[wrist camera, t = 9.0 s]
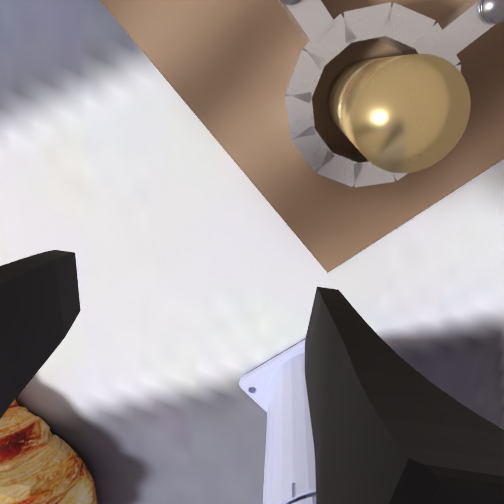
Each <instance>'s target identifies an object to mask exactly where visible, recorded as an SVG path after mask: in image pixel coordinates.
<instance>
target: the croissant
mask: <svg viewBox="0 0 504 504" xmlns="http://www.w3.org/2000/svg"><path fill="white" fill-rule="evenodd" d="M0 504H98V500H97V496H96V492H95V487H94V480H93V478H92V476H91V475H90V473H89V471H88V470H87V468H86V466H85V464H84V463H83V461H82V459H81V458H80V457H79V455H78V454H77V453H76V452H75V451H74V450H73V449H72V448H71V447H70V446H69V445H68V444H67V443H66V442H65V441H64V440H62V439H61V438H60V437H58V436H57V435H54V434H52V433H51V432H50V427H49V426H48V425H47V424H46V423H45V421H44V420H42V419H41V418H40V417H39V416H37V417H36V416H35V415H33V414H32V413H30V412H28V409H27V408H25V407H19V406H18V404H17V402H16V399H15V400H14V401H13V403H12V404H11V405H10V407H9V408H8V409H7V411H6V412H5V413H4V415H3V416H2V418H1V419H0Z"/></svg>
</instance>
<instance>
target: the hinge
mask: <svg viewBox="0 0 504 504" xmlns="http://www.w3.org/2000/svg"><path fill="white" fill-rule="evenodd" d="M278 1H279V3H280V4H281V6H282V7H283V9H284V10H285V12H286V13H287V14H288V16H289V17H290V19H291V20H292V22H293V23H294V25H295V26H296V27H297V29H298V30H299V32H300V33H301V35H302V36H303V38H304V39H305V41H306V42H307V44H306V45H305V46H304V47H303V48H302V50H301V51H300V53H299V56H298V59H297V61H296V64H295V67H294V69H293V72H292V75H291V77H290V80H289V83H288V85H287V88H286V91H285V93H286V94H285V99H286V107H287V115H288V123H289V131H290V138H291V140H292V143H293V144H294V145H295V146H296V148H297V149H298V150H299V152H300V153H301V154H302V156H303V157H304V158H305V159H306V161H307V162H308V163H309V165H310V166H311V167H312V169H313V170H314V171H315V172H316V171H317V174H320V175H322V176H325V177H327V178H330V179H333V180H335V181H338V182H340V183H343V184H345V185H348V186H351V187H353V185H354V187H362V186H369V185H376V184H383V183H390V182H395V180H394V178H395V179H396V180H397V181H398V180H399V179H400V178H402V177H403V176H405V175H406V174H408V173H394V172H389V171H385V170H382V169H380V168H378V167H376V166H375V165H373V164H372V163H371V162H370V161H368V160H367V159H366V158H365V157H364V155H363V154H362V153H361V152H357V153H349V152H346V151H344V150H341V149H339V148H336V147H334V146H331V145H329V144H327V143H326V141H325V140H324V139H323V137H322V136H321V135H320V133H319V132H318V131H317V129H316V128H315V125H314V115H313V105H312V96H313V93H314V91H315V89H316V86H317V84H318V81H319V79H320V76H321V74H322V71H323V69H324V66H325V65H326V64H327V63H329V62H330V61H331V60H332V59H333V58H334V57H335V56H337V55H338V54H339V53H340V52H341V51H342V50H344V49H345V48H346V47H347V46H348V45H349V44H354V43H359V42H364V41H369V40H376V41H378V42H381V43H383V44H385V45H388V46H390V47H392V48H395V49H397V50H399V51H401V53H402V54H403V55H412V54H430V55H435V56H438V57H441V58H443V59H445V60H447V61H449V62H450V63H451V64H453V65H454V66H455V67H456V68H457V69H458V70H459V71H460V72H461V65H457V64H458V63H459V62H460V60H459V59H458V57H457V55H456V54H458V53H459V52H460V51H461V50H463V49H464V48H465V47H467V46H468V45H469V44H470V43H472V42H473V41H474V40H476V39H477V38H478V37H480V36H481V35H482V34H483V33H485V32H486V31H487V30H489V29H490V28H491V27H493V26H494V25H495V24H498V23H503V22H504V0H466V1H465V2H463V3H462V4H461V5H460V6H458V7H457V8H456V9H455V10H454V11H452V12H451V13H450V14H449V15H447V16H446V17H445V18H444V19H442V20H441V21H440V22H439V23H435V21H436V20H433V19H431V18H429V17H426V16H424V15H422V14H420V13H417V12H415V11H413V10H410V9H408V8H406V7H403V6H401V5H399V4H397V3H392V4H391V2H389V3H384V4H379V5H374V6H370V7H365V8H360V9H355V10H350V11H346V12H343V13H342V14H340V15H338V16H337V17H336V18H335V19H334V20H333V18H332V17H331V15H330V14H329V12H328V11H327V9H326V8H325V6H324V4H323V3H322V1H321V0H278ZM434 23H435V24H434Z"/></svg>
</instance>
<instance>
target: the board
mask: <svg viewBox="0 0 504 504" xmlns="http://www.w3.org/2000/svg"><path fill="white" fill-rule="evenodd" d="M100 1H101V2H102V3H103V5H104V6H105V7H106V8H107V9H108V11H109V12H110V13H111V14H112V15H113V17H114V18H115V19H116V20H117V21H118V23H119V24H120V25H121V26H122V27H123V28H124V30H125V31H126V32H127V33H128V34H129V36H130V37H131V38H132V39H133V40H134V42H135V43H136V44H137V45H138V46H139V48H140V49H141V50H142V51H143V52H144V54H145V55H146V56H147V57H148V58H149V60H150V61H151V62H152V63H153V64H154V66H155V67H156V68H157V69H158V70H159V72H160V73H161V74H162V75H163V76H164V78H165V79H166V80H167V81H168V82H169V84H170V85H171V86H172V87H173V88H174V89H175V91H176V92H177V93H178V94H179V95H180V97H181V98H182V99H183V100H184V101H185V103H186V104H187V105H188V106H189V107H190V109H191V110H192V111H193V112H194V113H195V115H196V116H197V117H198V118H199V119H200V121H201V122H202V123H203V124H204V125H205V127H206V128H207V129H208V130H209V131H210V133H211V134H212V135H213V136H214V137H215V139H216V140H217V141H218V142H219V143H220V145H221V146H222V147H223V148H224V149H225V151H226V152H227V153H228V154H229V155H230V156H231V158H232V159H233V160H234V161H235V162H236V164H237V165H238V166H239V167H240V168H241V170H242V171H243V172H244V173H245V174H246V176H247V177H248V178H249V179H250V180H251V182H252V183H253V184H254V185H255V186H256V188H257V189H258V190H259V191H260V192H261V194H262V195H263V196H264V197H265V198H266V200H267V201H268V202H269V203H270V204H271V206H272V207H273V208H274V209H275V210H276V212H277V213H278V214H279V215H280V216H281V217H282V219H283V220H284V221H285V222H286V223H287V225H288V226H289V227H290V228H291V229H292V231H293V232H294V233H295V234H296V235H297V237H298V238H299V239H300V240H301V241H302V243H303V244H304V245H305V246H306V247H307V249H308V250H309V251H310V252H311V253H312V255H313V256H314V257H315V258H316V259H317V261H318V262H319V263H320V264H321V265H322V267H323V268H324V269H325V270H326V271H327V273H328V272H329V271H331V270H333V269H334V268H336V267H337V266H339V265H340V264H342V263H343V262H345V261H346V260H348V259H350V258H351V257H353V256H354V255H356V254H357V253H359V252H360V251H362V250H363V249H365V248H367V247H368V246H370V245H371V244H373V243H374V242H376V241H377V240H379V239H380V238H382V237H384V236H385V235H387V234H388V233H390V232H391V231H393V230H394V229H396V228H397V227H399V226H401V225H402V224H404V223H405V222H407V221H408V220H410V219H411V218H413V217H414V216H416V215H418V214H419V213H421V212H422V211H424V210H425V209H427V208H428V207H430V206H431V205H433V204H435V203H436V202H438V201H439V200H441V199H442V198H444V197H445V196H447V195H448V194H450V193H452V192H453V191H455V190H456V189H458V188H459V187H461V186H462V185H464V184H465V183H467V182H469V181H470V180H472V179H473V178H475V177H476V176H478V175H479V174H481V173H482V172H484V171H486V170H487V169H489V168H490V167H492V166H493V165H495V164H496V163H498V162H499V161H501V160H503V159H504V22H503V23H498V24H495V25H494V26H493V27H491V28H490V29H489V30H487V31H486V32H485V33H483V34H482V35H481V36H480V37H478V38H477V39H476V40H474V41H473V42H472V43H470V44H469V45H468V46H467V47H465V48H464V49H463V50H461V51H460V52H459V53H458V54H456V55H457V57H458V59H459V60H460V62H459V63H458V64H457V65H461V74H462V75H463V77H464V78H465V81H466V83H467V85H468V89H469V92H470V99H471V108H470V116H469V120H468V123H467V126H466V129H465V131H464V133H463V135H462V137H461V139H460V140H459V142H458V143H457V144H456V146H455V147H454V148H453V149H452V150H451V152H449V153H448V154H447V155H446V156H445V157H444V158H443V159H441V160H440V161H439V162H437V163H435V164H434V165H432V166H430V167H428V168H426V169H423V170H420V171H416V172H411V173H408V174H406V175H405V176H403V177H402V178H400V179H399V180H398V181H397V180H396V179H395V178H394V180H395V182H390V183H383V184H376V185H369V186H362V187H354V185H353V187H351V186H348V185H345V184H343V183H340V182H338V181H335V180H333V179H330V178H327V177H325V176H322V175H320V174H317V171H316V172H315V171H314V170H313V169H312V167H311V166H310V165H309V163H308V162H307V161H306V159H305V158H304V157H303V156H302V154H301V153H300V152H299V150H298V149H297V148H296V146H295V145H294V144H293V143H292V140H291V138H290V131H289V123H288V115H287V107H286V99H285V94H286V93H285V91H286V88H287V85H288V83H289V80H290V77H291V75H292V72H293V69H294V67H295V64H296V61H297V59H298V56H299V53H300V51H301V50H302V48H303V47H304V46H305V45H306V44H307V42H306V41H305V39H304V38H303V36H302V35H301V33H300V32H299V30H298V29H297V27H296V26H295V25H294V23H293V22H292V20H291V19H290V17H289V16H288V14H287V13H286V12H285V10H284V9H283V7H282V6H281V4H280V3H279V1H278V0H100ZM321 1H322V3H323V4H324V6H325V8H326V9H327V11H328V12H329V14H330V15H331V17H332V18H333V20H334V19H335V18H336V17H337V16H338V15H340V14H342V13H343V12H346V11H350V10H355V9H360V8H365V7H370V6H374V5H379V4H384V3H389V2H391V4H392V3H397V4H399V5H401V6H403V7H406V8H408V9H410V10H413V11H415V12H417V13H420V14H422V15H424V16H426V17H429V18H431V19H433V20H436V21H435V23H439V22H440V21H441V20H442V19H444V18H445V17H446V16H447V15H449V14H450V13H451V12H452V11H454V10H455V9H456V8H457V7H458V6H460V5H461V4H462V3H463V2H465V1H466V0H321ZM435 23H434V24H435ZM393 56H403V54H402V53H401V51H399V50H397V49H395V48H392V47H390V46H388V45H385V44H383V43H381V42H378V41H376V40H369V41H364V42H359V43H354V44H349V45H348V46H347V47H346V48H345V49H344V50H342V51H341V52H340V53H339V54H338V55H337V56H335V57H334V58H333V59H332V60H331V61H330V62H329V63H327V64H326V65H325V66H324V69H323V71H322V74H321V76H320V79H319V81H318V84H317V86H316V89H315V91H314V93H313V96H312V105H313V115H314V125H315V128H316V129H317V131H318V132H319V133H320V135H321V136H322V137H323V139H324V140H325V141H326V143H327V144H329V145H331V146H334V147H336V148H339V149H341V150H344V151H346V152H349V153H357V152H360V151H359V150H358V149H357V148H356V147H355V146H354V144H353V143H352V142H351V141H350V140H349V139H348V138H347V137H346V136H345V135H344V133H343V132H342V131H341V130H340V129H339V128H338V127H337V126H336V125H335V123H334V122H333V121H332V119H331V117H330V115H329V112H328V107H327V95H328V91H329V88H330V85H331V83H332V81H333V79H334V78H335V76H336V75H337V74H338V73H339V72H340V71H341V70H342V69H343V68H344V67H346V66H347V65H349V64H351V63H353V62H355V61H359V60H365V59H375V58H384V57H393Z"/></svg>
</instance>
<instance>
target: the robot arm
mask: <svg viewBox="0 0 504 504" xmlns="http://www.w3.org/2000/svg"><path fill="white" fill-rule="evenodd" d="M79 312H80V302H79V291H78V280H77V270H76V259H75V253H73V252H66V251H59V250H52V251H47V252H43V253H40V254H36V255H33V256H30V257H27V258H23V259H20V260H17V261H14V262H11V263H8V264H5V265H2V266H0V419H1V418H2V416H3V415H4V413H5V412H6V411H7V409H8V408H9V407H10V405H11V404H12V403H13V401H14V400H15V399H16V397H17V396H18V395H19V394H20V392H21V391H22V390H23V389H24V387H25V386H26V385H27V384H28V383H29V381H30V380H31V379H32V378H33V376H34V375H35V374H36V373H37V371H38V370H39V369H40V368H41V367H42V365H43V364H44V363H45V362H46V360H47V359H48V358H49V357H50V355H51V354H52V353H53V352H54V350H55V349H56V348H57V347H58V345H59V344H60V343H61V341H62V340H63V339H64V338H65V336H66V334H67V333H68V331H69V329H70V328H71V326H72V324H73V323H74V321H75V319H76V317H77V315H78V314H79ZM239 384H240V387H241V388H242V389H243V390H244V391H245V392H246V393H247V394H248V395H249V396H250V397H251V398H252V399H253V400H254V401H255V402H256V403H257V404H259V405H260V406H261V407H262V408H263V409H264V410H265V411H266V412H267V413H268V415H267V434H266V454H265V473H264V492H263V504H504V430H503V429H501V428H499V427H498V426H496V425H494V424H493V423H491V422H489V421H487V420H486V419H484V418H482V417H481V416H479V415H478V414H476V413H474V412H473V411H471V410H470V409H468V408H467V407H465V406H464V405H462V404H461V403H459V402H458V401H456V400H455V399H453V398H452V397H451V396H449V395H448V394H446V393H445V392H443V391H442V390H441V389H439V388H438V387H436V386H435V385H434V384H432V383H431V382H430V381H429V380H427V379H426V378H425V377H423V376H422V375H421V374H420V373H419V372H417V371H416V370H415V369H414V368H413V367H411V366H410V365H409V364H408V363H406V362H405V361H404V360H403V359H402V358H401V357H400V356H399V355H398V354H396V353H395V352H394V351H393V350H392V349H391V348H390V347H389V346H388V345H387V344H386V343H385V342H384V341H383V340H382V339H381V338H380V337H379V336H378V335H377V334H376V333H375V332H374V331H373V329H372V328H371V327H370V326H369V325H368V324H367V323H366V322H365V321H364V320H363V318H362V317H361V316H360V315H359V314H358V313H357V311H356V310H355V309H354V308H353V307H352V305H351V304H350V303H349V302H348V301H347V299H346V298H345V297H344V296H343V295H342V294H341V292H340V291H339V290H336V289H329V288H322V287H317V290H316V294H315V299H314V303H313V308H312V313H311V317H310V322H309V326H308V331H307V335H306V339H305V340H303V341H301V342H299V343H298V344H296V345H294V346H293V347H291V348H289V349H288V350H286V351H284V352H283V353H281V354H279V355H278V356H276V357H274V358H272V359H271V360H269V361H267V362H266V363H264V364H262V365H261V366H259V367H257V368H256V369H254V370H252V371H251V372H249V373H247V374H245V375H244V376H242V377H241V379H240V383H239ZM250 387H254V389H253V388H250Z"/></svg>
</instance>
